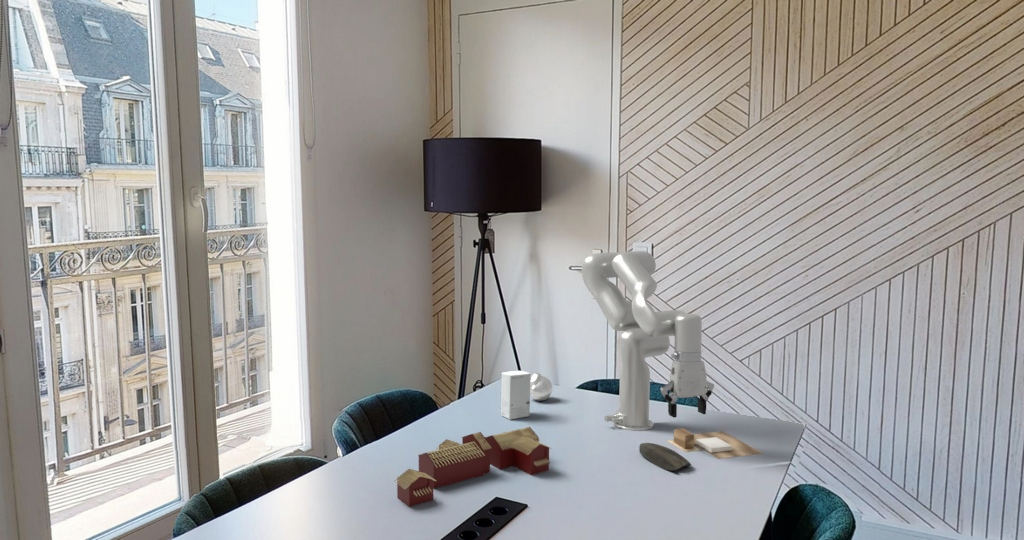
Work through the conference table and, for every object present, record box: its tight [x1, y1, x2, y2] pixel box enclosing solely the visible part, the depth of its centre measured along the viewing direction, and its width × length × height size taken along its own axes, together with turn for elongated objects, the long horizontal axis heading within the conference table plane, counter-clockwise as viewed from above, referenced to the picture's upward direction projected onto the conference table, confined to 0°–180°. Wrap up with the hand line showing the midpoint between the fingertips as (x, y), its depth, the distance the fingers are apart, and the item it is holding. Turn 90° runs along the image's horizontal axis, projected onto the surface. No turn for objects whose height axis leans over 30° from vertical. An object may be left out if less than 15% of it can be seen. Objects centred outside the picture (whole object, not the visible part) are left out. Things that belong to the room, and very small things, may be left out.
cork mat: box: [693, 430, 763, 460], centre depth 210 cm, size 15×20×1 cm
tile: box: [696, 437, 732, 453], centre depth 207 cm, size 7×1×8 cm
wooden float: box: [667, 428, 701, 453], centre depth 209 cm, size 5×10×5 cm, turn 18°
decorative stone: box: [638, 442, 692, 472], centre depth 197 cm, size 17×6×4 cm, turn 32°
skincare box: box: [500, 370, 531, 421], centre depth 237 cm, size 8×6×15 cm
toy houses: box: [393, 426, 551, 508], centre depth 186 cm, size 45×20×10 cm, turn 126°
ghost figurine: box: [530, 372, 554, 402], centre depth 256 cm, size 9×10×10 cm
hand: (687, 414), depth 207 cm, fingers open, 9 cm apart
